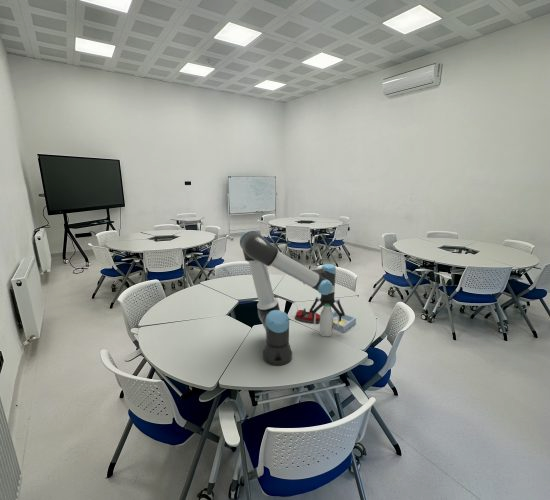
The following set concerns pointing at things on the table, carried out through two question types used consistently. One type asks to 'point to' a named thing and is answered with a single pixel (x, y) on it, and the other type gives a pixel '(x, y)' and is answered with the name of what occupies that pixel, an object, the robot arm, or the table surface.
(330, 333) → the milk bottle
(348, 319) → the blue square tray
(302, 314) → the bumper car
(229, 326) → the table surface
